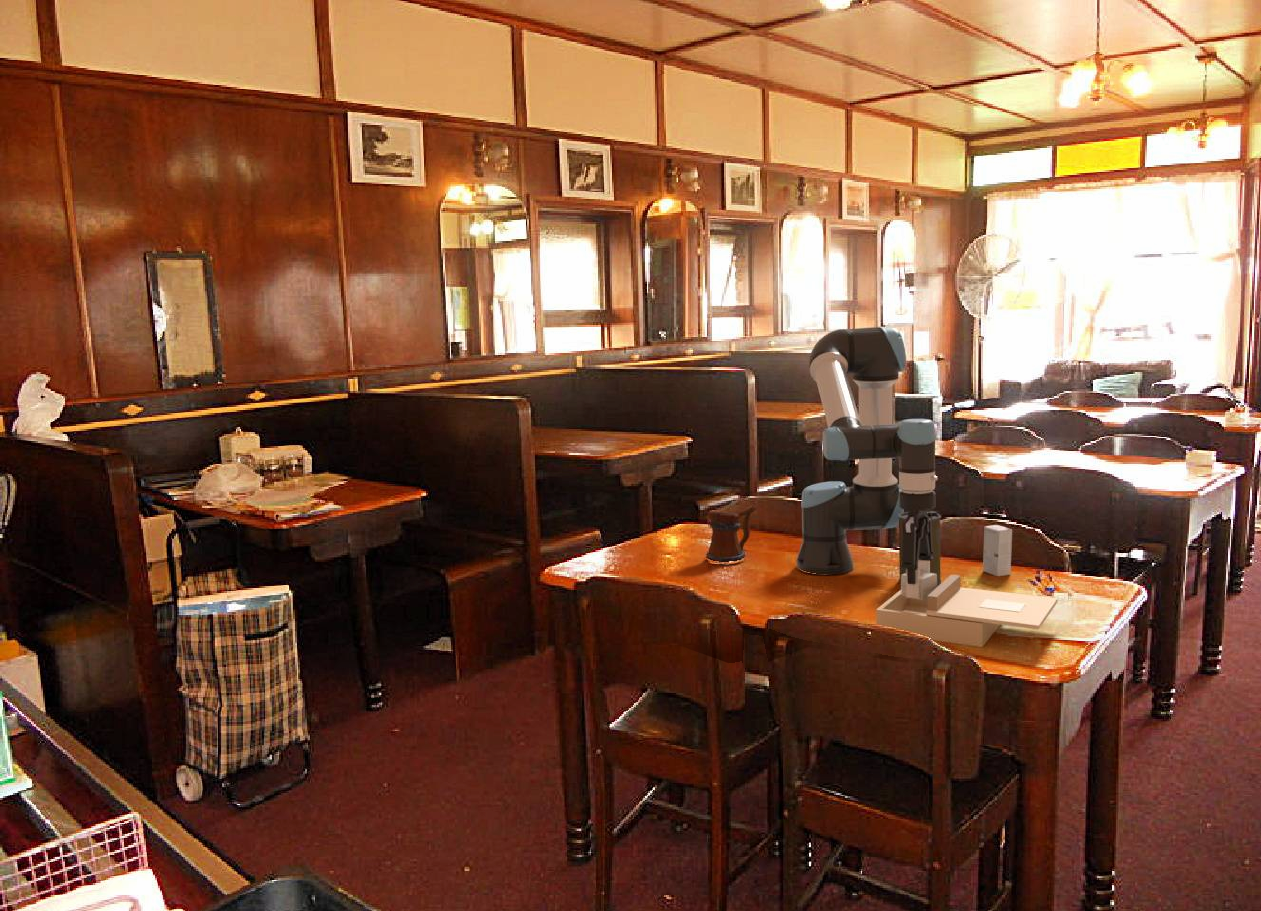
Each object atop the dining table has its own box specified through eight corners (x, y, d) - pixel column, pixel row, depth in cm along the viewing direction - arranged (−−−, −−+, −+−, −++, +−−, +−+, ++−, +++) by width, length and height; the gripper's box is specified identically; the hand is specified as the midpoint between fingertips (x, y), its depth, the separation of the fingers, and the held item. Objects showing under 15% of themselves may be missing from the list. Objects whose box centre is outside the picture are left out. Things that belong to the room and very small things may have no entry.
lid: (925, 614, 195) (925, 597, 194) (952, 589, 211) (952, 573, 211) (1038, 629, 183) (1038, 610, 182) (1057, 601, 199) (1057, 584, 198)
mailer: (876, 631, 202) (876, 609, 201) (905, 606, 218) (905, 585, 217) (982, 647, 189) (982, 623, 189) (1004, 619, 206) (1004, 597, 205)
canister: (919, 590, 230) (918, 511, 227) (889, 581, 239) (888, 504, 236) (951, 583, 235) (951, 505, 232) (921, 574, 244) (920, 499, 241)
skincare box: (982, 571, 244) (982, 526, 242) (996, 569, 245) (996, 524, 243) (997, 577, 238) (998, 530, 236) (1012, 574, 239) (1012, 528, 238)
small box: (938, 594, 205) (937, 573, 204) (922, 601, 201) (922, 579, 201) (916, 589, 209) (915, 568, 209) (900, 595, 206) (899, 574, 205)
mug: (741, 549, 280) (739, 500, 278) (769, 555, 271) (768, 505, 269) (697, 561, 269) (695, 510, 267) (725, 568, 260) (723, 515, 258)
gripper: (920, 499, 192) (921, 607, 195) (947, 484, 208) (948, 583, 211) (885, 497, 196) (886, 603, 199) (914, 482, 213) (915, 580, 216)
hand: (918, 593), depth 205 cm, fingers closed on small box, 7 cm apart
